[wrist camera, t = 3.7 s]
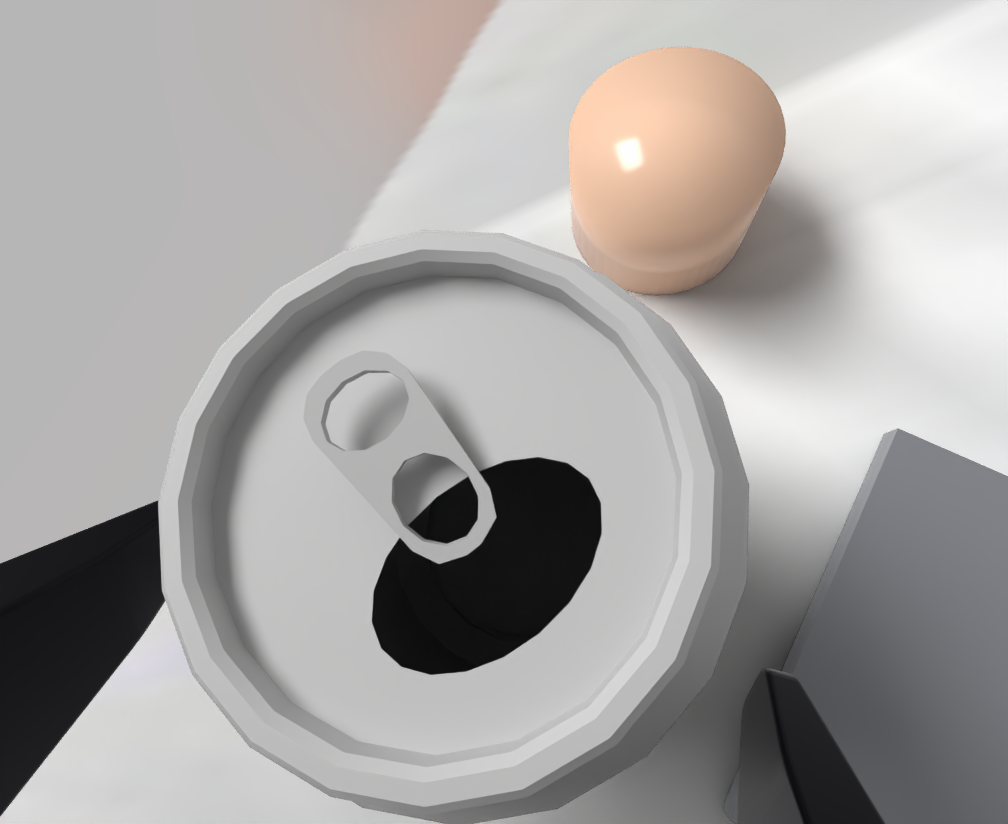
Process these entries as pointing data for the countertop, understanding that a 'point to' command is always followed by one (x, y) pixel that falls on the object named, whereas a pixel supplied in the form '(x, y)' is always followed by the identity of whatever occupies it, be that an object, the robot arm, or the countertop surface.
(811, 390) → the countertop surface
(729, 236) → the beige smooth rounded shape
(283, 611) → the can
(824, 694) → the coaster
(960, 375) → the countertop surface
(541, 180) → the countertop surface
